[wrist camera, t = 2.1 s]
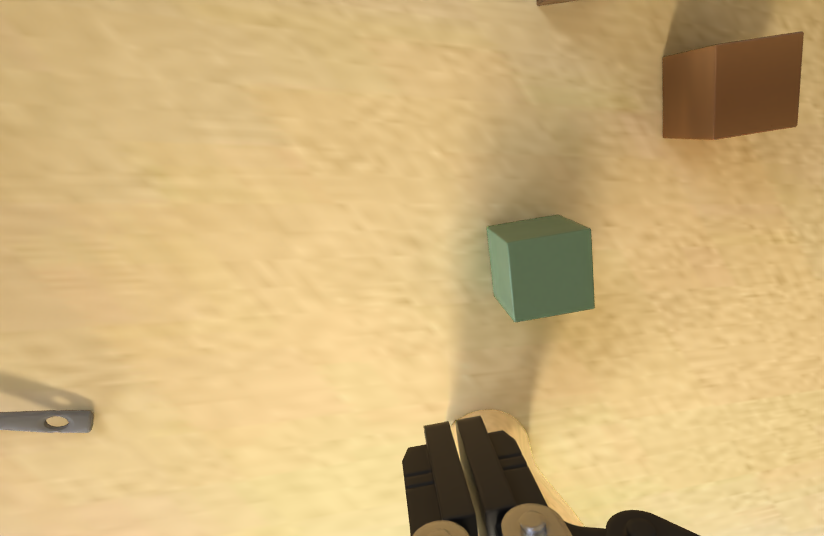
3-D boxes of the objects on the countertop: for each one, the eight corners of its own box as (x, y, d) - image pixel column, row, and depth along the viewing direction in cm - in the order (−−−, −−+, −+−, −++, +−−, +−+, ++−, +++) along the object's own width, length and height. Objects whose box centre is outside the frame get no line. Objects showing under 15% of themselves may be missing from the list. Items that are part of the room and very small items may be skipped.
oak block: (661, 57, 28) (715, 44, 24) (737, 45, 29) (804, 30, 24) (662, 138, 30) (713, 140, 25) (735, 126, 30) (798, 126, 25)
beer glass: (412, 454, 34) (448, 697, 19) (484, 382, 33) (578, 582, 18) (484, 507, 35) (566, 767, 21) (554, 441, 35) (690, 665, 20)
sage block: (486, 226, 30) (506, 242, 26) (558, 214, 30) (591, 228, 26) (493, 296, 31) (514, 323, 27) (563, 284, 31) (595, 309, 27)
